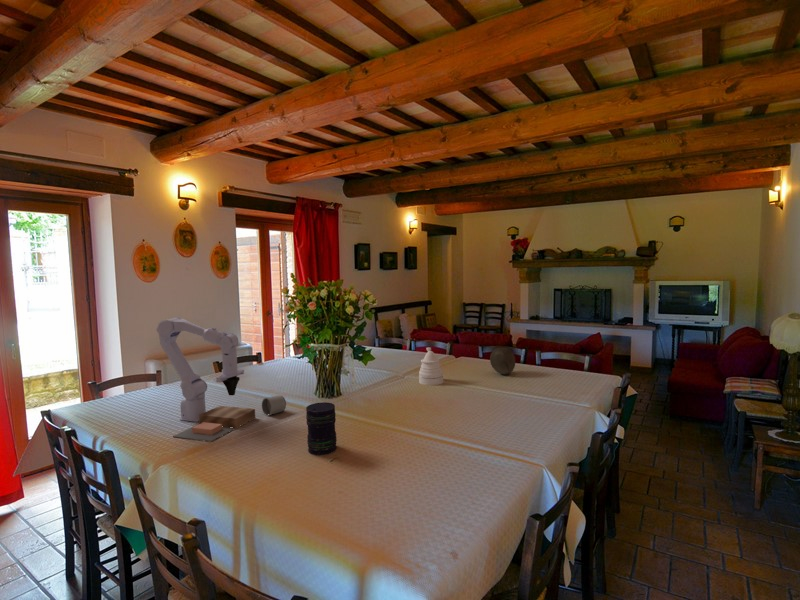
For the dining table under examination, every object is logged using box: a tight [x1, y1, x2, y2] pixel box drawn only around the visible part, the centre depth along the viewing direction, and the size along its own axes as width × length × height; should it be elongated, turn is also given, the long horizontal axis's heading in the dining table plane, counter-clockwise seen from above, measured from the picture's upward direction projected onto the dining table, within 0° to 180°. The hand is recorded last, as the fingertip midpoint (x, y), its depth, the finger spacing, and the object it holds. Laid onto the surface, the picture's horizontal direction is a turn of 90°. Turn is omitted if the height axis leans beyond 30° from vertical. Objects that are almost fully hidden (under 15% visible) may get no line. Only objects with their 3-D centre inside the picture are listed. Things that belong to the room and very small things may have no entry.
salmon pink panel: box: [191, 422, 222, 435], centre depth 169 cm, size 9×6×2 cm, turn 72°
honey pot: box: [418, 347, 444, 386], centre depth 231 cm, size 13×13×18 cm
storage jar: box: [305, 401, 337, 456], centre depth 149 cm, size 10×10×15 cm
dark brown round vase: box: [489, 347, 516, 376], centre depth 243 cm, size 14×14×15 cm
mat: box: [172, 423, 236, 442], centre depth 168 cm, size 18×13×1 cm
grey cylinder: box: [261, 395, 287, 417], centre depth 190 cm, size 11×8×8 cm
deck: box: [198, 405, 256, 429], centre depth 180 cm, size 18×12×4 cm, turn 72°
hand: (231, 394), depth 184 cm, fingers closed
